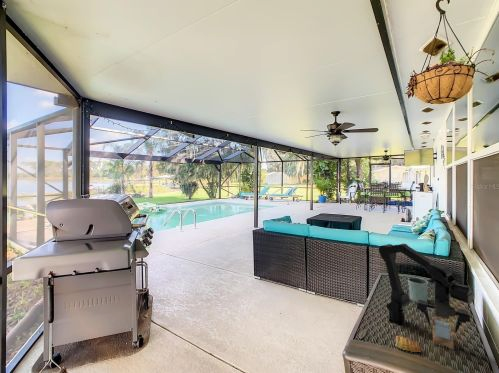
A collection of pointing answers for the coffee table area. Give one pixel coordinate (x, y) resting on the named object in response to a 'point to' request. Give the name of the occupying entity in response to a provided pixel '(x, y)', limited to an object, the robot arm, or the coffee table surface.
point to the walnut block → (443, 340)
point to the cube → (442, 329)
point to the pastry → (407, 344)
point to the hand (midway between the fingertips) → (442, 328)
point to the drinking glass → (418, 289)
